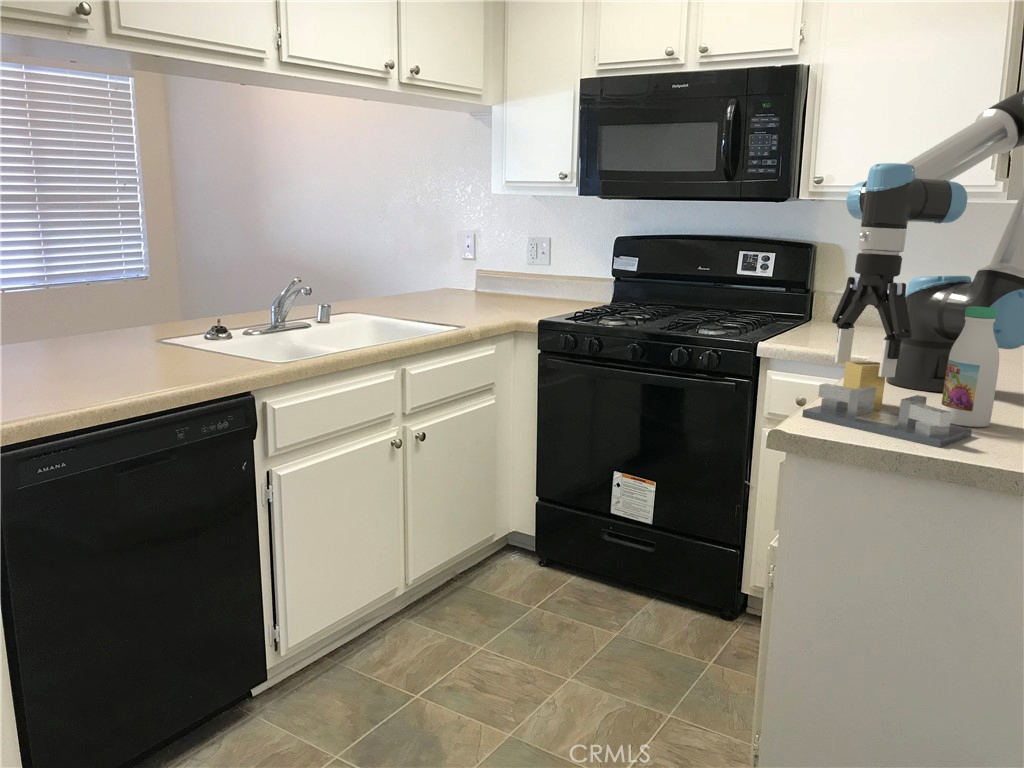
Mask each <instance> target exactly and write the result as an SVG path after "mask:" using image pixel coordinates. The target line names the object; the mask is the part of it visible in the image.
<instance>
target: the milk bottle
mask: <svg viewBox="0 0 1024 768" xmlns="http://www.w3.org/2000/svg"><path fill="white" fill-rule="evenodd" d="M996 315H997V309H995V308H989V307H977V306H969V307H967V308H966V311H965V318H964V319H965V320H966V322H965V326H964V328H963V330H962V332H961V334H960V335H959V337H958V338H957V340H956V341H955V343H954V344H953V346H952V349H951V351H950V355H949V359H948V365H947V371H946V377H945V383H944V390H943V392H942V396H941V397H942V398H941V399H942V400H941V405H940V409H942V410H945V411H949V412H952V413H951V420H950V424H951V425H956V426H961V427H966V428H987V427H989V425H990V423H991V419H992V414H993V407H994V403H995V401H994V400H995V396H996V395H995V394H996V388H997V382H998V374H999V369H1000V368H999V367H1000V348H998V346H997V343H996V340H995V336H994V331H993V323H994V322H995V318H996Z"/></svg>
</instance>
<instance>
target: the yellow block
mask: <svg viewBox="0 0 1024 768" xmlns="http://www.w3.org/2000/svg"><path fill="white" fill-rule="evenodd" d="M879 368H880V362H879V361H872V360H850V361H846V363H845V367H844V374H843V375H844V376H843V382H842V386H843V387H849V388H854V389H856V388H861V387H865V386H870V387H876V392H875V400H874V408H873V409H877V410H882V405H883V398H884V392H885V391H884V390H885V384H886V377H880V376H878V375H879ZM848 404H849V403H848Z"/></svg>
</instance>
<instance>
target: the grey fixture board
mask: <svg viewBox="0 0 1024 768" xmlns="http://www.w3.org/2000/svg"><path fill="white" fill-rule="evenodd" d="M875 392H876V387H870V386H865V387H861V388H856V389H854V388H849V387H843V385H837V384H832V383H820V384H819V388H818V398H821V403H820V405H818V406H817V405H816V406H813V407H809V408H804V409H802V417H803V418H807V419H811V420H817V421H819V422H820V421H821V422H825V423H828V424H833V423H834V425H838V426H843V427H847V428H852V429H857V430H860V431H864V432H869V433H874V434H879V435H883V436H887V437H891V438H896V439H900V440H904V441H910V442H913V443H917V444H922V445H927V446H931V447H936V448H943V447H945V446H948V445H951V444H955V443H956V442H959V441H961V440H965V439H967V438H970V437H972V433H973V428H972V427H967V426H960V425H955V424H951V423H950V420H951V413H952V412H949V411H945V410H942V409H941V408H937V407H935V406H930V405H927V397H928V396H924V395H919V394H918V395H912V396H909V397H905V398H901V400H900V404H899V406H900V407H899V413H896V412H891V411H887V410H882V409H873V408H874V400H875ZM848 403H849V404H848Z"/></svg>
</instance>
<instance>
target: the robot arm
mask: <svg viewBox="0 0 1024 768" xmlns="http://www.w3.org/2000/svg"><path fill="white" fill-rule="evenodd" d="M1022 146H1023V147H1024V89H1022V90H1019V91H1018V92H1016V93H1013V95H1010V96H1008V97H1006V98H1003V100H1001V101H999V102H997V103H996V104H994V105H992V106H990V107H989V108H987V109H985V110H983V111H982V112H981V113H980V114H978V116H977V117H976V120H975V122H973V123H971V124H970V125H968V126H966V127H965V128H963V129H961V130H959V131H957V133H955V134H952V135H951V136H948V138H946V139H944V140H943V141H941V142H939V143H937V144H935V145H934V146H932V147H931V148H929V149H928V150H925V151H924V152H922V153H921V154H919V155H917V156H915V157H913V158H911V160H909V161H906V163H900V162H899V163H898V162H896V163H895V162H890V163H889V162H888V163H887V162H885V163H884V162H882V163H876V164H874V165H872V166H871V167H870V168H869V169H868V174H867V179H866V180H865V181H861V182H857V183H855V184H854V185H853V186H852V187H851V188H850V189H849V190H848V193H847V195H846V199H845V200H846V202H845V203H846V209H847V211H848V213H849V214H850V216H851V217H852V218H854V219H857V220H861V223H860V224H861V225H860V232H859V241H858V246H857V248H858V250H860V251H861V252H859V253H858V254H856V259H855V265H854V272H855V273H856V274H859V277H858V276H849V277H847V280H846V281H847V282H846V285H845V289H844V291H843V294H842V296H841V298H840V301H839V303H838V306H837V307H836V310H835V312H834V314H833V316H832V319H831V322H832V324H835V325H836V327H837V329H838V330H837V339H836V350H835V357H834V358H835V359H834V363H836V364H846V361H851V357H852V348H853V340H854V336H855V335H854V333H855V323H856V321H857V320H858V319H859V317H860V316H861V315H862V313H863V312H864V310H865V309H866V308H867V306H874V308H875V309H876V310H877V312H878V314H879V317H880V320H881V321H880V322H881V324H882V327H883V328H884V329H883V330H884V331H885V332H884V333H885V335H886V336H885V337H884V338H883V343H882V347H881V348H882V349H881V355H880V362H879V363H880V368H879V375H878V376H880V377H885V382H887V383H888V384H891V385H894V386H896V387H897V386H898V387H901V388H907V389H912V390H919V391H927V392H938V393H939V392H942V393H943V390H944V383H945V377H946V371H947V365H948V359H949V355H950V351H951V349H952V346H953V344H954V343H955V341H956V340H957V338H958V337H959V335H960V334H961V332H962V330H963V328H964V326H965V322H966V320H965V319H964V318H965V311H966V308H967V307H969V306H977V307H989V308H995V309H997V315H996V318H995V322H994V323H993V331H994V336H995V340H996V343H997V346H998V349H1003V350H1015V349H1019V348H1020V347H1022V346H1024V188H1023V189H1022V191H1021V194H1020V196H1019V198H1018V200H1017V202H1016V204H1015V206H1014V208H1013V211H1012V213H1011V215H1010V218H1009V220H1008V223H1007V224H1006V226H1005V230H1004V232H1003V233H1002V236H1001V238H1000V241H999V243H998V244H997V247H996V249H995V251H994V254H993V255H992V258H991V260H990V263H989V264H988V265H986V266H984V267H983V266H982V267H981V268H979V269H977V271H976V273H975V276H974V278H973V280H972V277H971V276H969V275H931V276H930V275H929V276H926V275H925V276H916V277H913V278H912V279H911V280H910V281H909V282H908V284H907V283H904V282H895V281H894V279H895V277H898V276H899V275H900V274H901V269H902V265H903V264H902V262H903V257H902V255H900V253H903V252H904V251H905V244H906V237H907V228H908V224H909V223H908V222H910V223H911V222H912V223H913V222H915V223H916V222H917V223H934V224H943V223H944V224H948V223H949V224H950V223H953V222H955V221H957V220H958V219H960V218H961V217H962V215H964V213H965V211H966V208H967V204H968V193H967V190H966V189H965V187H964V186H963V184H961V183H959V182H956V181H953V180H954V179H955V178H957V177H958V176H961V174H964V173H965V172H967V171H968V170H971V168H974V167H975V166H977V165H979V164H980V163H982V162H984V161H986V160H987V159H988V158H990V157H992V156H993V155H1004V154H1006V153H1007V154H1008V152H1011V151H1012V150H1013V149H1015V148H1019V147H1022ZM951 180H952V181H951Z"/></svg>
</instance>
